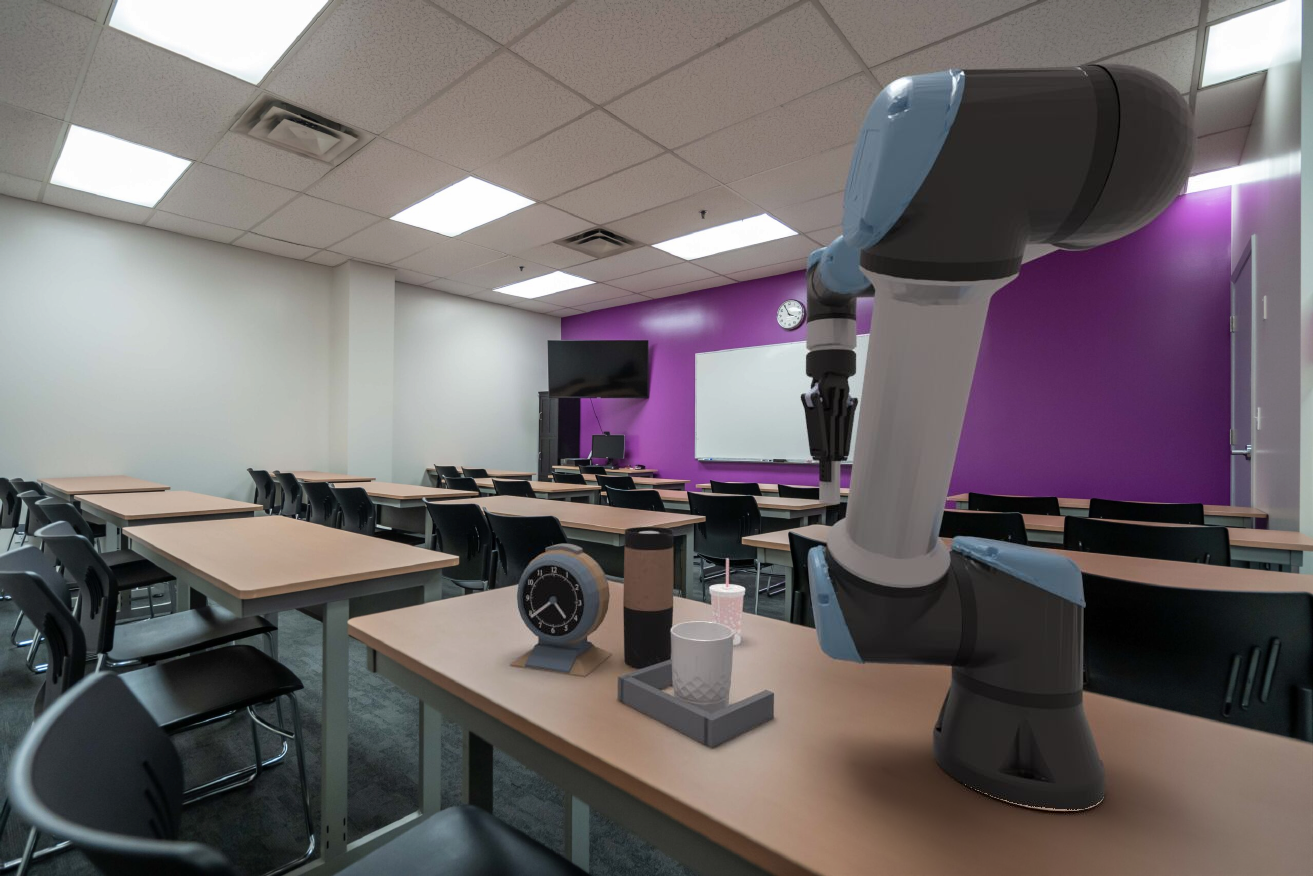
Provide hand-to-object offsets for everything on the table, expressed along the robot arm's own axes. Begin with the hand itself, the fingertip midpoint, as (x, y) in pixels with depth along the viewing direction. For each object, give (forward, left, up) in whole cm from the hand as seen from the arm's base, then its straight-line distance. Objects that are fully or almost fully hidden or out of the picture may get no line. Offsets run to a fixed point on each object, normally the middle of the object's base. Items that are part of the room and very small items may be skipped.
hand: (829, 503), depth 92 cm
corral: (-7, +27, -24) cm, 37 cm away
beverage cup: (+14, +10, -25) cm, 30 cm away
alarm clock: (+15, +38, -25) cm, 48 cm away
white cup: (-8, +26, -25) cm, 37 cm away
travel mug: (+10, +26, -25) cm, 37 cm away
